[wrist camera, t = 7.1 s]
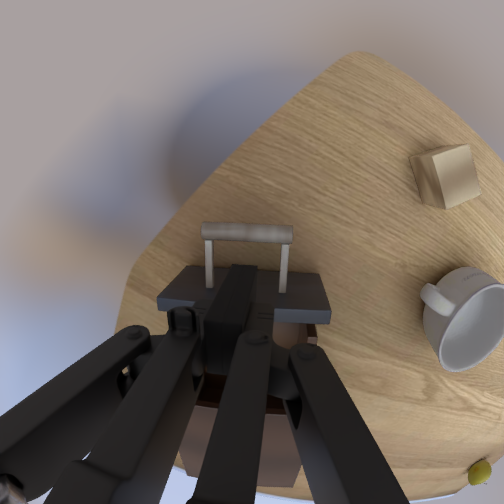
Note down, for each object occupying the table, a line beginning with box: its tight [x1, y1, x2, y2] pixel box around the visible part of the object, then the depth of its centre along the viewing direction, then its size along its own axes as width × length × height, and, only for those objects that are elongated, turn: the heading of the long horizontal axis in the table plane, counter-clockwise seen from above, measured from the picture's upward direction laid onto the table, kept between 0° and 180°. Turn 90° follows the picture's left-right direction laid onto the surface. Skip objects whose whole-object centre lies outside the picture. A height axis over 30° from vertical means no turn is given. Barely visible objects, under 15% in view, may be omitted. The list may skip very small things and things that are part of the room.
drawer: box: [157, 222, 332, 409], centre depth 25 cm, size 22×13×8 cm, turn 178°
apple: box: [468, 460, 491, 485], centre depth 35 cm, size 8×8×10 cm
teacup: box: [420, 267, 504, 372], centre depth 23 cm, size 14×11×8 cm
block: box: [409, 144, 481, 210], centre depth 21 cm, size 5×5×5 cm
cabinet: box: [179, 400, 302, 487], centre depth 29 cm, size 18×15×10 cm
